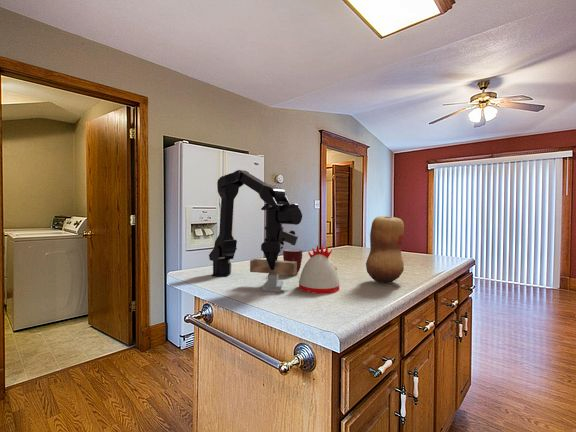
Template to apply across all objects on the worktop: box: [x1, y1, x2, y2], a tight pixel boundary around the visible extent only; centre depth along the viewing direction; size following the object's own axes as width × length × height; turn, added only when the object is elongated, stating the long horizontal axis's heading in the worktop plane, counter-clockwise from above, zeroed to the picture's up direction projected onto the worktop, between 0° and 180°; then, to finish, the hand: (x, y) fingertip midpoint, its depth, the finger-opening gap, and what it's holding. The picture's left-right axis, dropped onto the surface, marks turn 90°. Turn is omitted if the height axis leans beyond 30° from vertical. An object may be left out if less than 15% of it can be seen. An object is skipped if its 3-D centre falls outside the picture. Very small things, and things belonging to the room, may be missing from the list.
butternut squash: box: [365, 215, 405, 284], centre depth 116 cm, size 14×13×25 cm
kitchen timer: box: [298, 244, 340, 295], centre depth 107 cm, size 14×14×15 cm
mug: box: [282, 248, 303, 276], centre depth 128 cm, size 11×8×10 cm
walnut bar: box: [249, 258, 298, 276], centre depth 108 cm, size 16×4×4 cm, turn 74°
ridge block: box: [261, 273, 284, 292], centre depth 108 cm, size 6×12×5 cm, turn 177°
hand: (273, 268), depth 108 cm, fingers open, 6 cm apart
